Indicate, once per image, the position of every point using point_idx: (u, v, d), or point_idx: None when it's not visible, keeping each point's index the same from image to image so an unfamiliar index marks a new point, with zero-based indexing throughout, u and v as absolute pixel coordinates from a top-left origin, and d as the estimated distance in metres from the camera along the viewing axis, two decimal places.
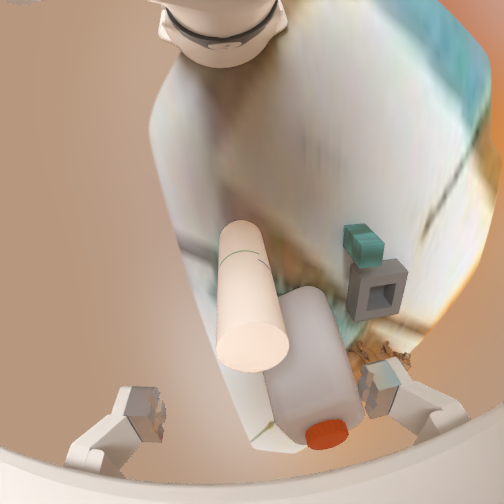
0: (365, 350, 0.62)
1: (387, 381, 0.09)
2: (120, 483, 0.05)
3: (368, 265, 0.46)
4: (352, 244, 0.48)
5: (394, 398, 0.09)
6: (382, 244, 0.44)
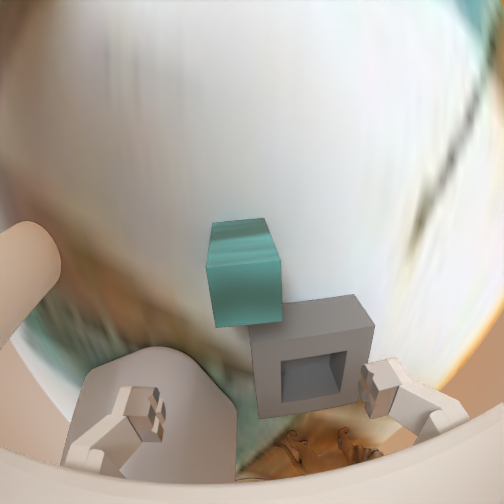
0: (299, 448, 0.32)
1: (387, 381, 0.09)
2: (120, 483, 0.05)
3: (241, 320, 0.18)
4: None
5: (394, 398, 0.09)
6: (274, 263, 0.16)
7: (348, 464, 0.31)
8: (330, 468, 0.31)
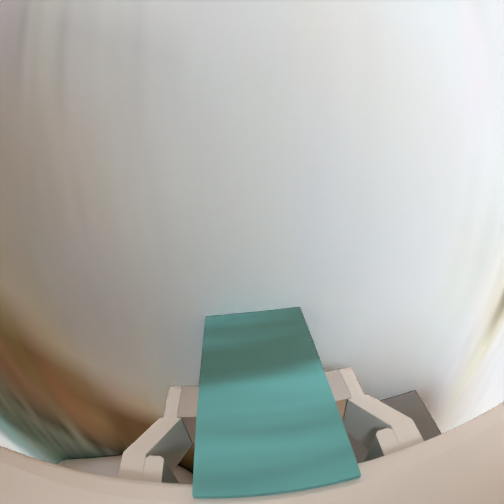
0: None
1: (335, 393, 0.09)
2: (120, 483, 0.05)
3: None
4: None
5: (345, 411, 0.09)
6: (346, 479, 0.05)
7: None
8: None
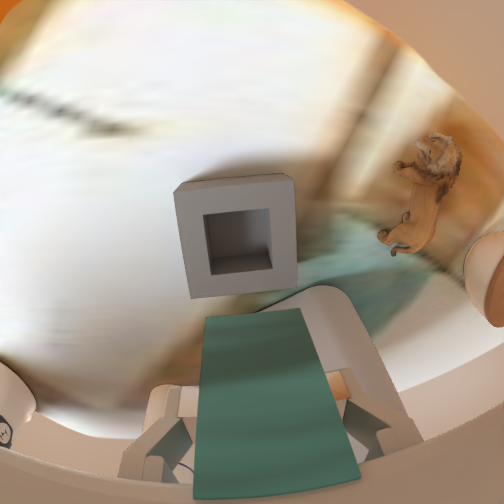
0: (393, 239, 0.30)
1: (335, 393, 0.09)
2: (120, 483, 0.05)
3: None
4: None
5: (345, 411, 0.09)
6: (347, 481, 0.05)
7: (429, 185, 0.25)
8: (426, 211, 0.25)
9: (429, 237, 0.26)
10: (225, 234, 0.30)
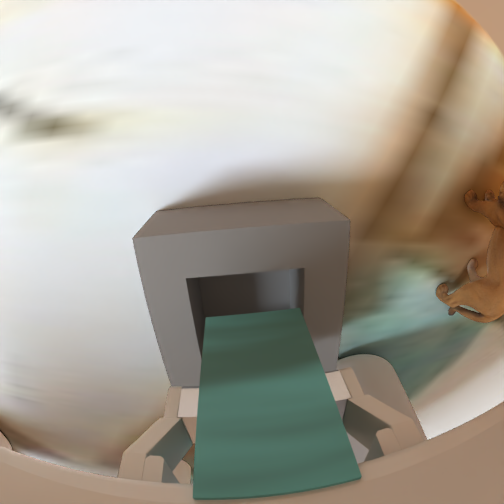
0: (460, 301, 0.19)
1: (336, 393, 0.09)
2: (120, 483, 0.05)
3: None
4: None
5: (345, 411, 0.09)
6: (347, 481, 0.05)
7: None
8: None
9: None
10: (225, 294, 0.19)
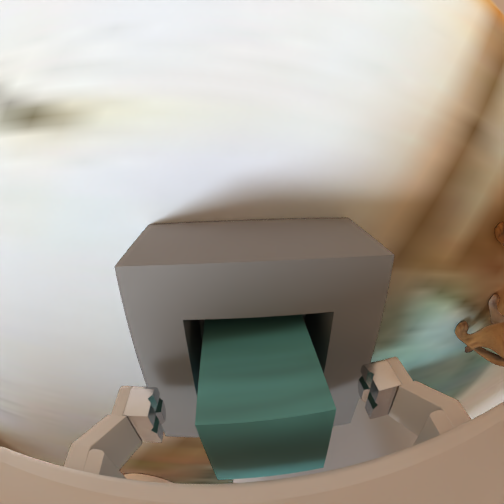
0: (481, 343, 0.16)
1: (387, 381, 0.09)
2: (120, 483, 0.05)
3: (259, 473, 0.09)
4: None
5: (394, 398, 0.09)
6: (324, 413, 0.08)
7: None
8: None
9: None
10: None
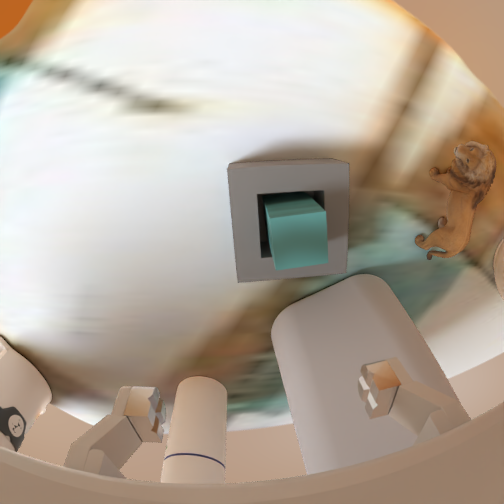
0: (430, 244, 0.29)
1: (387, 381, 0.09)
2: (120, 483, 0.05)
3: (296, 263, 0.22)
4: (267, 224, 0.25)
5: (394, 398, 0.09)
6: (321, 213, 0.21)
7: (466, 192, 0.24)
8: (463, 217, 0.24)
9: (466, 242, 0.25)
10: None
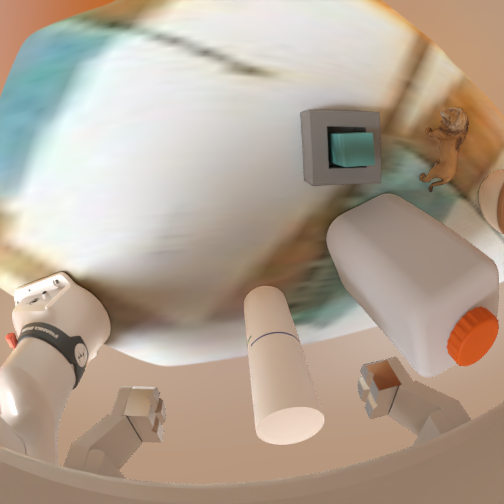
0: (430, 176, 0.41)
1: (387, 381, 0.09)
2: (120, 483, 0.05)
3: (357, 163, 0.34)
4: (333, 145, 0.36)
5: (394, 398, 0.09)
6: (370, 134, 0.32)
7: (450, 139, 0.36)
8: (450, 155, 0.37)
9: (454, 171, 0.37)
10: None
